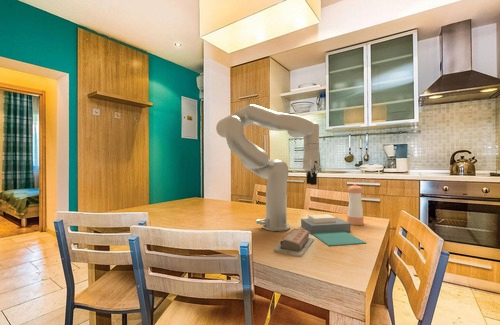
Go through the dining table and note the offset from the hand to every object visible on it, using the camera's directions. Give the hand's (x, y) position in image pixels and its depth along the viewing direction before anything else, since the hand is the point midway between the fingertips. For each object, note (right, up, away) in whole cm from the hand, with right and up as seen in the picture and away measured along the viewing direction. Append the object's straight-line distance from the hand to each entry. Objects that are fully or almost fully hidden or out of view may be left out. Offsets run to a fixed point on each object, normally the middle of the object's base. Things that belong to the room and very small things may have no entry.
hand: (311, 183), depth 122 cm
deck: (+3, -19, -11) cm, 23 cm away
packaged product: (-14, -20, -33) cm, 41 cm away
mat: (+4, -19, -25) cm, 32 cm away
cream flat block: (+2, -16, -11) cm, 19 cm away
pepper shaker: (+21, -19, -2) cm, 29 cm away
